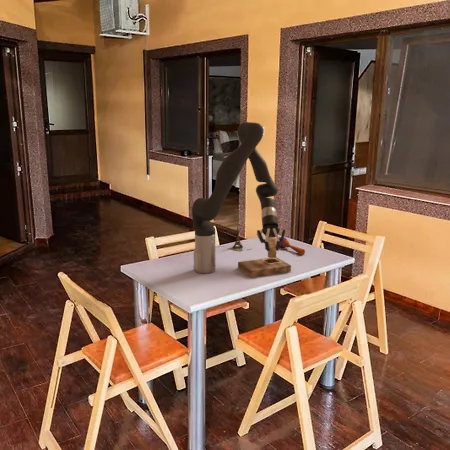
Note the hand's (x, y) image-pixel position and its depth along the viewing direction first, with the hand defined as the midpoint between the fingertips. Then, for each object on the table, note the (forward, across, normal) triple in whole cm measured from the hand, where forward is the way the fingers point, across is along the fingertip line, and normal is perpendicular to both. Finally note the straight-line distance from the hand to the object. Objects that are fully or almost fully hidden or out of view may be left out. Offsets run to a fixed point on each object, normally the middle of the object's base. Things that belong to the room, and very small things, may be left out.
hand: (272, 249), depth 219 cm
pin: (+1, 0, +4) cm, 4 cm away
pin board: (+8, -4, +5) cm, 10 cm away
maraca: (-14, +14, +28) cm, 34 cm away
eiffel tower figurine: (-19, -14, +33) cm, 40 cm away
